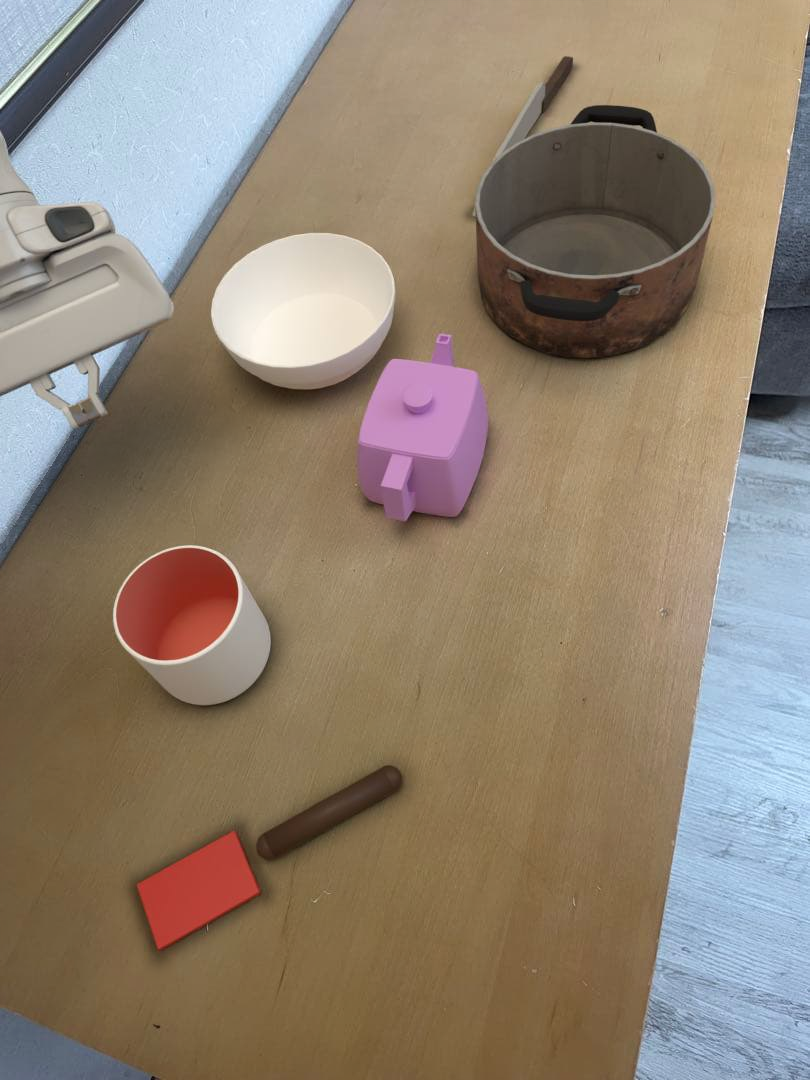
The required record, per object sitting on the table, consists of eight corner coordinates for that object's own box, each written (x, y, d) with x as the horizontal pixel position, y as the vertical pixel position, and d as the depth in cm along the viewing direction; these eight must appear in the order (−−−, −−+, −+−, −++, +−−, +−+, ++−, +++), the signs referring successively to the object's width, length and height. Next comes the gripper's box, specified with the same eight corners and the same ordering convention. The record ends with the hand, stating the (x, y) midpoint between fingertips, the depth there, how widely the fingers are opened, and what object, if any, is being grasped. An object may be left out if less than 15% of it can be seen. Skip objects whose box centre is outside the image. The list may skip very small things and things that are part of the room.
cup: (144, 633, 74) (96, 581, 65) (248, 582, 75) (215, 524, 67) (181, 731, 69) (135, 688, 60) (292, 674, 70) (262, 624, 62)
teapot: (402, 380, 85) (390, 305, 76) (505, 396, 83) (504, 320, 74) (346, 529, 77) (324, 464, 68) (457, 552, 75) (450, 488, 66)
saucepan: (512, 179, 99) (512, 92, 90) (710, 198, 94) (731, 107, 85) (445, 372, 85) (438, 292, 76) (673, 407, 80) (694, 325, 71)
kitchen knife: (566, 38, 106) (468, 182, 93) (574, 40, 106) (477, 184, 93) (563, 72, 110) (470, 215, 97) (572, 73, 109) (478, 217, 96)
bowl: (199, 388, 88) (175, 339, 81) (283, 270, 95) (268, 216, 89) (355, 438, 82) (342, 389, 76) (431, 308, 90) (425, 254, 84)
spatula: (160, 950, 61) (150, 948, 59) (139, 885, 63) (128, 881, 61) (417, 804, 64) (414, 798, 62) (387, 747, 66) (383, 740, 65)
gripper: (-150, 307, 60) (-44, 482, 63) (120, 194, 63) (206, 367, 66) (-120, 315, 66) (-25, 475, 69) (125, 212, 69) (204, 369, 72)
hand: (90, 421), depth 68 cm, fingers closed
